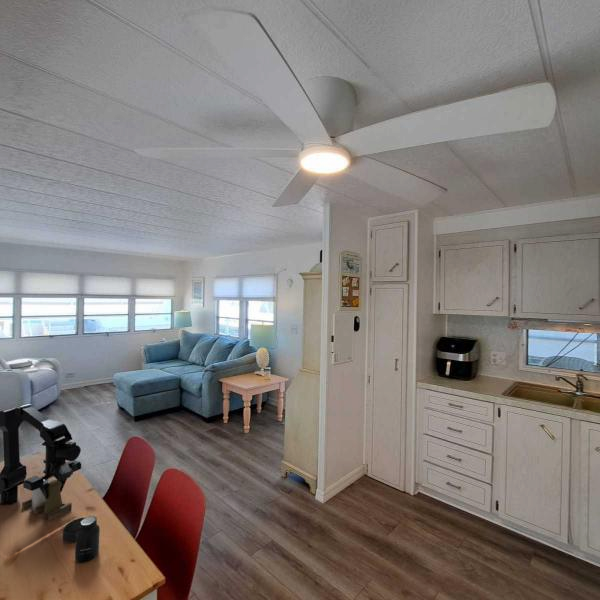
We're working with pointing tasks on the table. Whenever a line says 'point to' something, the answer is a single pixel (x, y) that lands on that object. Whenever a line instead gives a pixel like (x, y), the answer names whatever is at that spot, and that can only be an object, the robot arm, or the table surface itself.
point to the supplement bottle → (87, 540)
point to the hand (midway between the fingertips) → (53, 495)
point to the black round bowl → (71, 530)
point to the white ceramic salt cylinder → (37, 498)
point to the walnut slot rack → (40, 510)
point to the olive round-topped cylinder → (53, 497)
